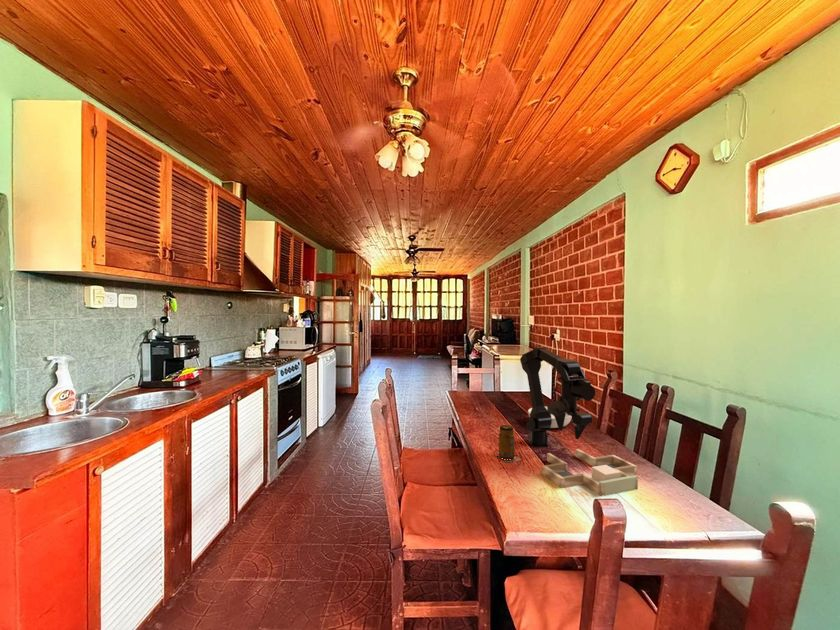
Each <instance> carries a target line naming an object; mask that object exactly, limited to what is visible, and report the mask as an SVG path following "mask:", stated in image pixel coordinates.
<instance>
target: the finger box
mask: <svg viewBox="0 0 840 630" xmlns="http://www.w3.org/2000/svg"><path fill="white" fill-rule="evenodd" d="M546 457H547V458H546V461H547V462H548V463H549V464H557V463H563V462H564V463H566V464H565V471H568V462H566V461H564V460H562V459H560V458H559V457H557V456H556V455H554V454H552V453H551V452H547V453H546ZM575 458H577V459H579V460H581V461H582V462H584V463H587V464H588V465H590V466H591V467H595V466H597V463H596V462H597V458H595V456H592V455H591V454H589V453H587V452H585V451H583V450H581V449H579V448H575ZM613 469H614V468H613ZM615 470H616V468H615ZM617 471H619V472H620V478H616V479H610V480H604V481H599V482H598V481H596V480H594V479H593V478H592V476H590V475H588V474H586V473H584V472H582V473H581V474H584V475H583V484H582V485H584V486H585V487H587V488H588V489H590V490H591V491H593V492H595V493H597V494H598V495H600V494H601V495H604V496H607V495H606V494H609V495H614V494H618V492H619V493H624V492H623V491H625V492H628V491H629V490H630V491H634V490H633V489H635V490H638V488H639V485H638V483H639V477H638V475H631V476H630V475H628V474H626V473H624V472H622V471H620V470H618V469H617ZM613 493H614V494H613ZM601 495H600V496H601Z"/></svg>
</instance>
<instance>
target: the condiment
mask: <svg viewBox="0 0 840 630" xmlns="http://www.w3.org/2000/svg"><path fill="white" fill-rule="evenodd" d="M515 443H516V442H515V433H514V427H513V426H512V425H507V424H502V425H500V426H499V433H498V454H499V457H497V455H496V454H497V453H493V455H494V456H496V457H497V458H498V459H500V460H502V461H503V462H505V463H513V462H517V461H521V460H522V459H521V458H520V457H518V456H517V455H515V448H516V447H515ZM514 455H515V457H516V459H514ZM501 458H503V459H501ZM504 459H506V460H504ZM507 459H508V460H507ZM509 459H511V460H509ZM512 461H513V462H512Z"/></svg>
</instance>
